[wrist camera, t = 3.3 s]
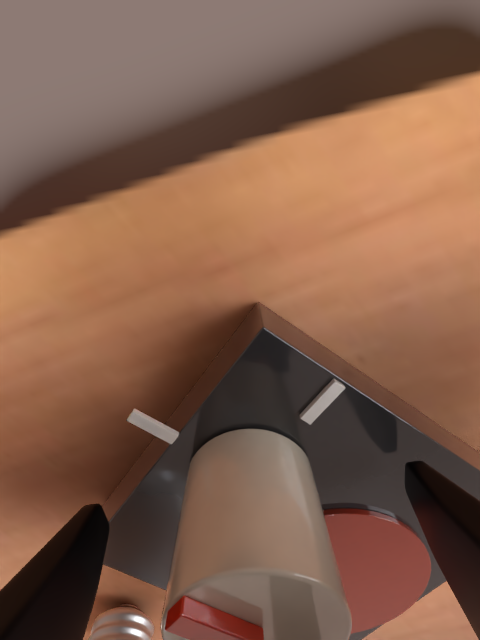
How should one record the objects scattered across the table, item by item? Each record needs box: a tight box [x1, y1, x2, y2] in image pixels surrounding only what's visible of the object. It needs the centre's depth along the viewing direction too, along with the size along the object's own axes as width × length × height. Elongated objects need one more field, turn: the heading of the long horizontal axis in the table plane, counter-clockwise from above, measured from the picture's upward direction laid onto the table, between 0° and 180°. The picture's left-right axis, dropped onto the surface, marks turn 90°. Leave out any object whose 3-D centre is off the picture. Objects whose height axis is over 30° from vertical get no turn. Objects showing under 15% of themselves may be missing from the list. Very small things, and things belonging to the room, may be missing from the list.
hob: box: [103, 302, 480, 640], centre depth 11 cm, size 10×12×2 cm
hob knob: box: [161, 428, 352, 640], centre depth 8 cm, size 4×4×4 cm
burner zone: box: [323, 508, 431, 634], centre depth 11 cm, size 6×6×1 cm
